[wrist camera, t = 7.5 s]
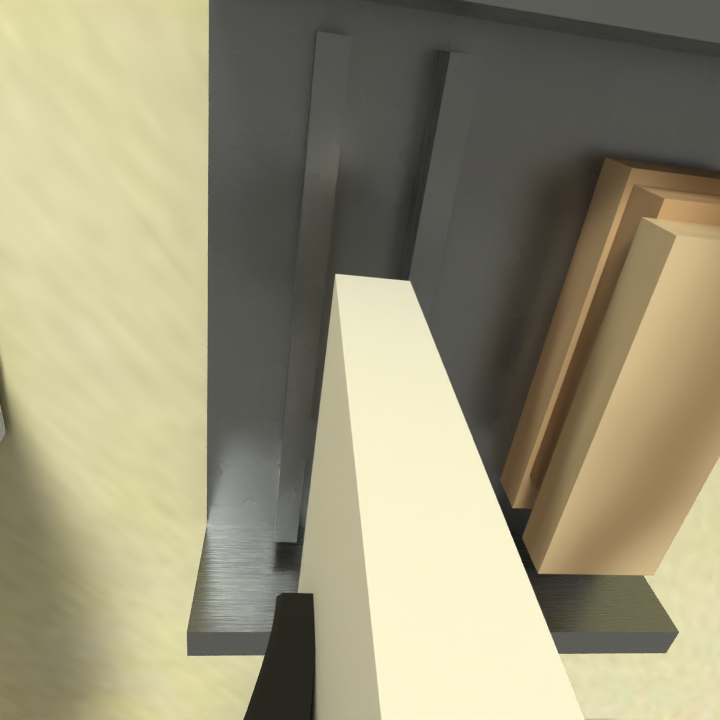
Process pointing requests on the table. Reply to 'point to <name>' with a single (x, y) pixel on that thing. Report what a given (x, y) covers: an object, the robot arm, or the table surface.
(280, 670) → the robot arm
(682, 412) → the offcut stack
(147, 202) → the table surface
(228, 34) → the rack
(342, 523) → the white block
